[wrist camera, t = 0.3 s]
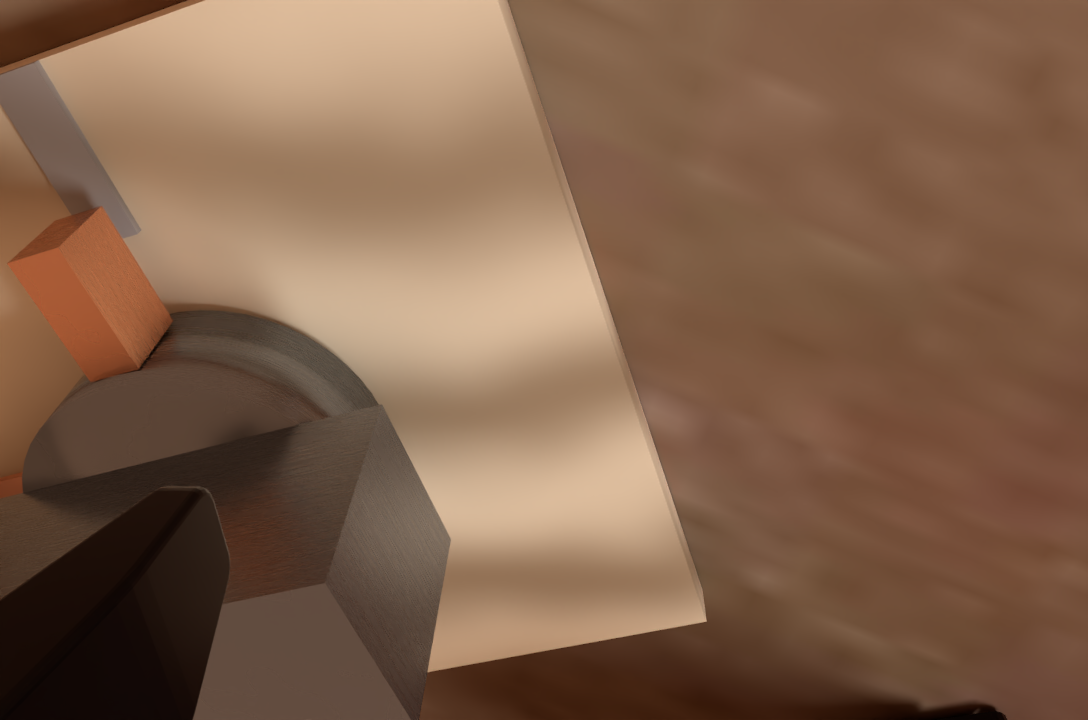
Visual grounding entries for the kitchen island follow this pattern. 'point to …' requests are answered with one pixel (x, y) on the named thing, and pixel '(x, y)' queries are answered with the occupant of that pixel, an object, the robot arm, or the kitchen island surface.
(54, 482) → the coupling
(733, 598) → the kitchen island surface
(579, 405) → the beige square board
